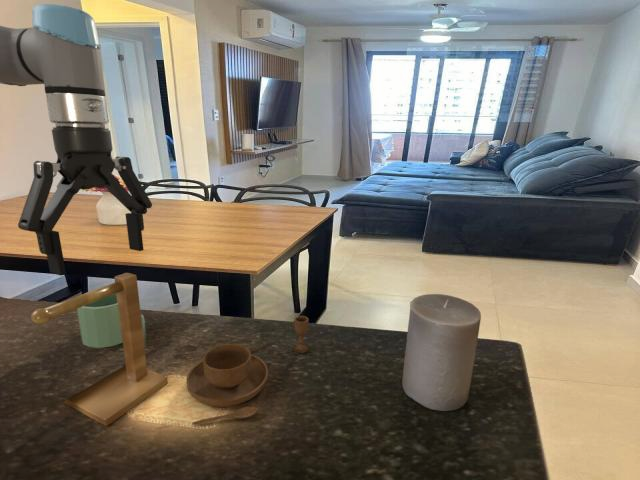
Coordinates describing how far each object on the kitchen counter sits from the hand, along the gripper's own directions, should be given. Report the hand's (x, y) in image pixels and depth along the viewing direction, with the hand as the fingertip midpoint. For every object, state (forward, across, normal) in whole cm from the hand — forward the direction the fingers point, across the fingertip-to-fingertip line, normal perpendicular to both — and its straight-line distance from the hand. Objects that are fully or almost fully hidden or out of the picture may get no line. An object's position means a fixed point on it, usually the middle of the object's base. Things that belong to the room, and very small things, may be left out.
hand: (101, 260), depth 63 cm
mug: (+16, 0, -2) cm, 16 cm away
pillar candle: (+16, +15, -53) cm, 57 cm away
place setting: (+16, +4, -28) cm, 32 cm away
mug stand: (+16, -10, -11) cm, 21 cm away
